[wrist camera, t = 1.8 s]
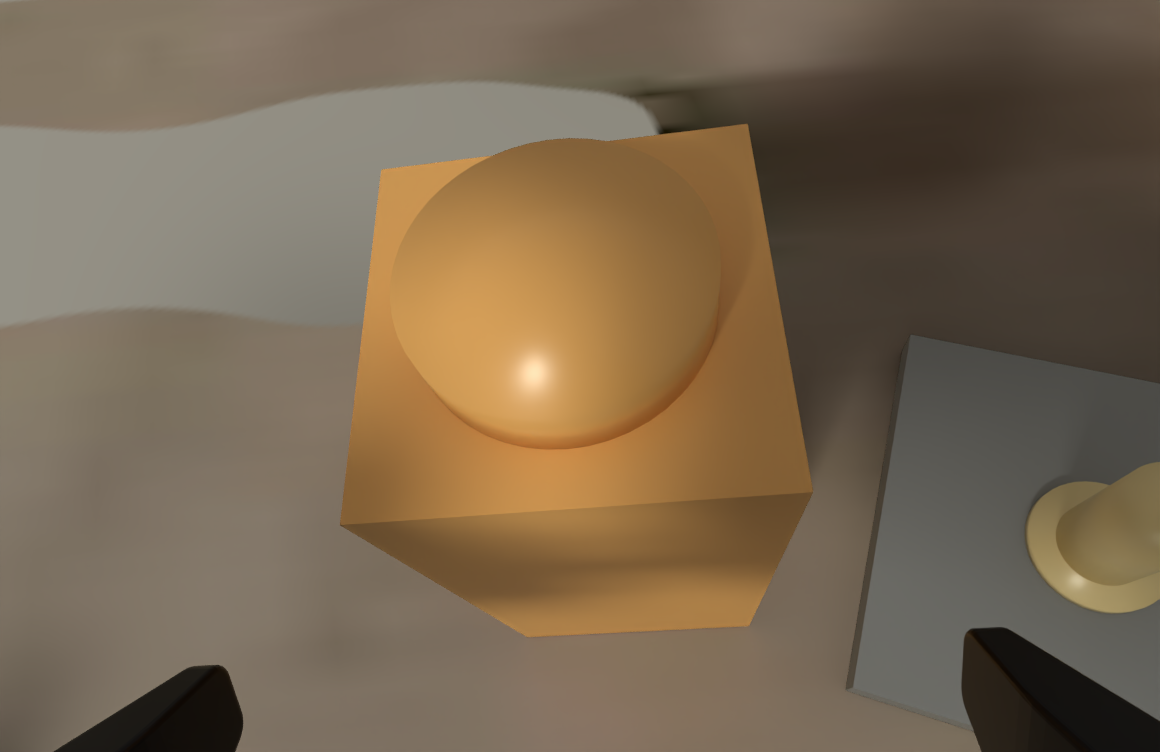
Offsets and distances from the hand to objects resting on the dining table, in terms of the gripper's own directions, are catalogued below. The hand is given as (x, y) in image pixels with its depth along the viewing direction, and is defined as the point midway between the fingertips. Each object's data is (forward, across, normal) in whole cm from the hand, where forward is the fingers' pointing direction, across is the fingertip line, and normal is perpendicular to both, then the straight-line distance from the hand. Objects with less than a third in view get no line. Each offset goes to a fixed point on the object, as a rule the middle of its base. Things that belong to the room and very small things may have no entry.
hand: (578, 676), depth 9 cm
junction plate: (+10, -12, +6) cm, 17 cm away
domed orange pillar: (+12, 0, +5) cm, 12 cm away
